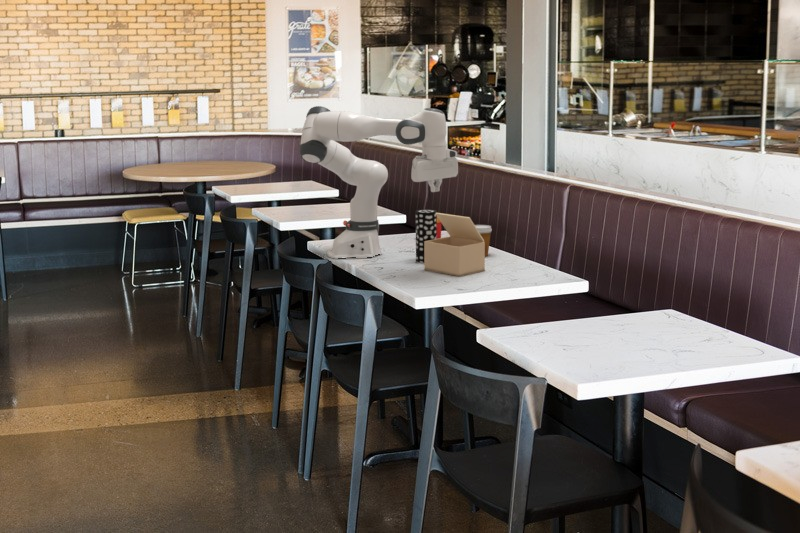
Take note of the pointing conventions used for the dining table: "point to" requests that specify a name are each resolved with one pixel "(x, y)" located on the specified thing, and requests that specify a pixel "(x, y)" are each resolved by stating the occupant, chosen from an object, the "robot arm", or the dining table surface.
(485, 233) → the disposable coffee cup
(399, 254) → the dining table surface
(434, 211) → the white-spotted black cylinder
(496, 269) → the dining table surface
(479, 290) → the dining table surface
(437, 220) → the french fries
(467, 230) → the carton flap
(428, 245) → the carton
